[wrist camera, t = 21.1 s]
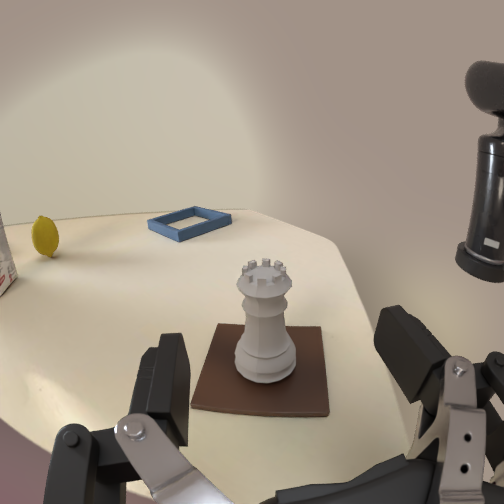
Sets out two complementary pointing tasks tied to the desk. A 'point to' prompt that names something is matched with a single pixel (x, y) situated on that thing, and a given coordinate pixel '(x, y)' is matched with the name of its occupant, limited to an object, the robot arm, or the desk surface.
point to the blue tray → (183, 234)
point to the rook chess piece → (265, 324)
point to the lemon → (45, 236)
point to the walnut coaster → (264, 394)
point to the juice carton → (5, 262)
